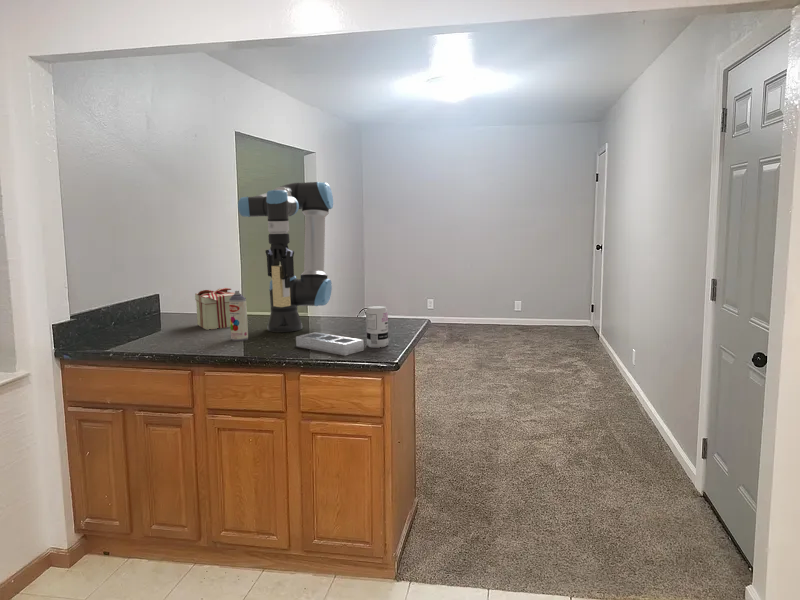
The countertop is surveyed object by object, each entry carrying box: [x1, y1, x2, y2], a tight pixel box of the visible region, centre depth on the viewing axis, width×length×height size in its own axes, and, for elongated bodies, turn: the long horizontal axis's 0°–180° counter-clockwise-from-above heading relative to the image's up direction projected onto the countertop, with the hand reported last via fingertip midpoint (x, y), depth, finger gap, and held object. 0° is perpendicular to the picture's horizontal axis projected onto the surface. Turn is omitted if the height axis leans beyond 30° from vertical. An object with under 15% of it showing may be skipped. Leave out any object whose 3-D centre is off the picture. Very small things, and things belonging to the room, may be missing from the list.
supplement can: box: [365, 305, 389, 349], centre depth 240 cm, size 8×8×15 cm
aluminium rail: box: [295, 331, 365, 356], centre depth 238 cm, size 26×10×4 cm, turn 51°
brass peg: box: [271, 264, 291, 307], centre depth 233 cm, size 4×4×15 cm
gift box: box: [194, 287, 235, 331], centre depth 287 cm, size 17×18×17 cm
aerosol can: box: [229, 290, 249, 342], centre depth 257 cm, size 7×7×20 cm
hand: (281, 295), depth 233 cm, fingers closed on brass peg, 4 cm apart
